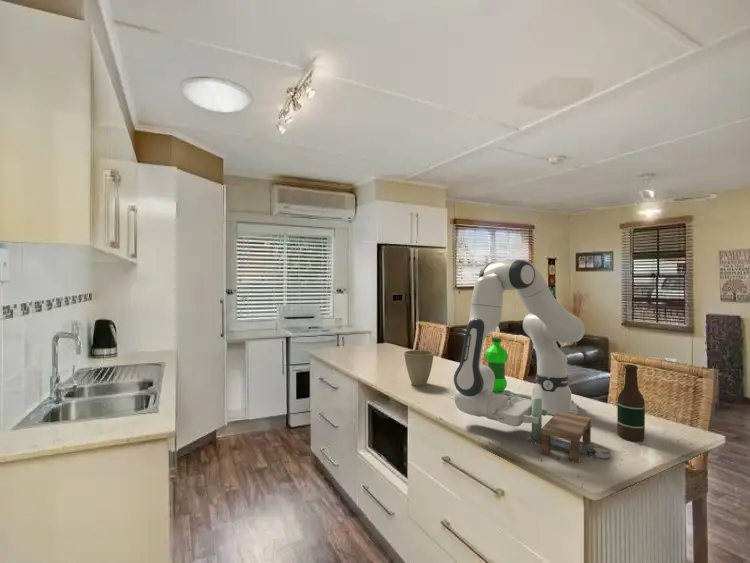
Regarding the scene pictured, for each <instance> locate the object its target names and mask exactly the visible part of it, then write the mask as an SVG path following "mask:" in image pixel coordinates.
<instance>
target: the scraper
mask: <svg viewBox="0 0 750 563" xmlns="http://www.w3.org/2000/svg"><path fill="white" fill-rule="evenodd" d="M531 398H532V415H531V416H536V417H539V418H540V419H539V423H538V424H536V423H531V435H530V436H529V437H528V438H527V440H526V441H528V442H527V443H531V442H532V444H535V443H536V444H535V445H539V444H540V445H539V446H541V429H542V427H543V426H542V425H543V424H542V419H543V415H542V398H540V397H532V396H531ZM589 448H591V446H586V445H582V444H580V456H584V457H587V456H589V454H588V449H589ZM550 449H554V450H560V451H564V452H567V453H571V441H570V442H569V441H564V440H560V439H556V438H552V437H550Z"/></svg>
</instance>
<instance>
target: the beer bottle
mask: <svg viewBox="0 0 750 563" xmlns="http://www.w3.org/2000/svg"><path fill="white" fill-rule="evenodd" d="M624 369H625V370H624V371H625V373H624V375H625V376H624V385H623V389H622V390H621V391H620V393H619V395H618V396H617V404H616V405H617V410H616V411H617V415H616V416H617V419H616V420H617V423H616V424H617V426H616V427H617V428H616V430H617V436H618V437H619V438H620V439H622V440H625V441H630V442H640V443H641V442H643V441H644V439H645V434H646V431H645V430H646V428H645V427H646V426H645V424H646V421H645V420H646V417H645V416H646V413H645V412H646V404H645V399H644V396H643V394H642V393H641V392H640V390H639V385H638V384H639V383H638V381H639V380H638V369H639V368H638V366H637V365H636V364H625V365H624Z"/></svg>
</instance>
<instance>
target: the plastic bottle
mask: <svg viewBox="0 0 750 563" xmlns="http://www.w3.org/2000/svg"><path fill="white" fill-rule="evenodd" d="M491 342H492V345H491V346H490V347H488V348H487V349H486V351H485V360H486V361H487V366H488V367H490V368H491V369H492V370H493V372H494V374H495V384H494V388H493V392H492V393H501V392H503V391H504V390H505V389H506V388H507V386H508V383H507V379H506V376H505V375H506V362H507V361H508V359H509V357H508V356H509V355H508V352H507V350H506V349H505V348H504V347H503V346H501V342H502V338H501V337H497V336H495V337H491Z"/></svg>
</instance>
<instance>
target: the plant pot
mask: <svg viewBox="0 0 750 563" xmlns="http://www.w3.org/2000/svg"><path fill="white" fill-rule="evenodd" d="M434 354H435V352H434V351H431V350H427V349H426V350H425V349H424V350H423V349H412V350H405V351H404V352H403V355H404V360H405V362H404V363H405V366H406V370H407V374H408V378H409V380H410V382H411V383H410V384H411V385H412V386H418V387H421V386H427V384H428V380H429V379H430V374H431V371H432V368H433V367H432V366H433V362H434V356H435V355H434Z"/></svg>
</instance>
